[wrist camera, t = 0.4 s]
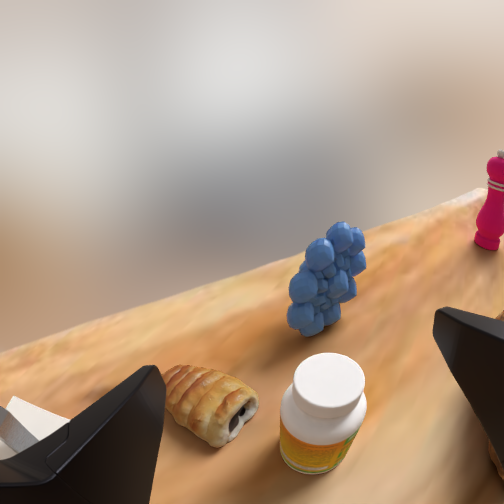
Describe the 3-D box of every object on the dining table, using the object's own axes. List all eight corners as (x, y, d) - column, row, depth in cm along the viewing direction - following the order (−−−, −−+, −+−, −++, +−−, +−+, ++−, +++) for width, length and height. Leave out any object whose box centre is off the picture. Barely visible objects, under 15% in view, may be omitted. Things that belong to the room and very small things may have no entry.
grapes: (329, 288, 38) (334, 202, 32) (370, 309, 33) (384, 217, 27) (262, 329, 32) (256, 230, 26) (305, 362, 27) (311, 255, 21)
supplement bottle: (339, 480, 15) (374, 425, 11) (270, 468, 17) (266, 408, 13) (351, 424, 20) (379, 348, 15) (290, 415, 22) (293, 337, 17)
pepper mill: (466, 239, 47) (480, 144, 38) (481, 234, 49) (494, 146, 40) (491, 254, 41) (509, 153, 32) (504, 247, 42) (521, 155, 33)
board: (45, 595, 1) (35, 594, 1) (-37, 525, 3) (-45, 521, 2) (96, 433, 19) (90, 426, 19) (19, 402, 20) (13, 395, 20)
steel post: (31, 462, 13) (-4, 433, 11) (15, 452, 14) (-18, 422, 11) (40, 442, 16) (9, 411, 14) (24, 433, 16) (-6, 402, 14)
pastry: (145, 404, 23) (131, 380, 21) (189, 363, 28) (181, 337, 26) (224, 456, 18) (216, 438, 17) (267, 401, 23) (266, 376, 22)
